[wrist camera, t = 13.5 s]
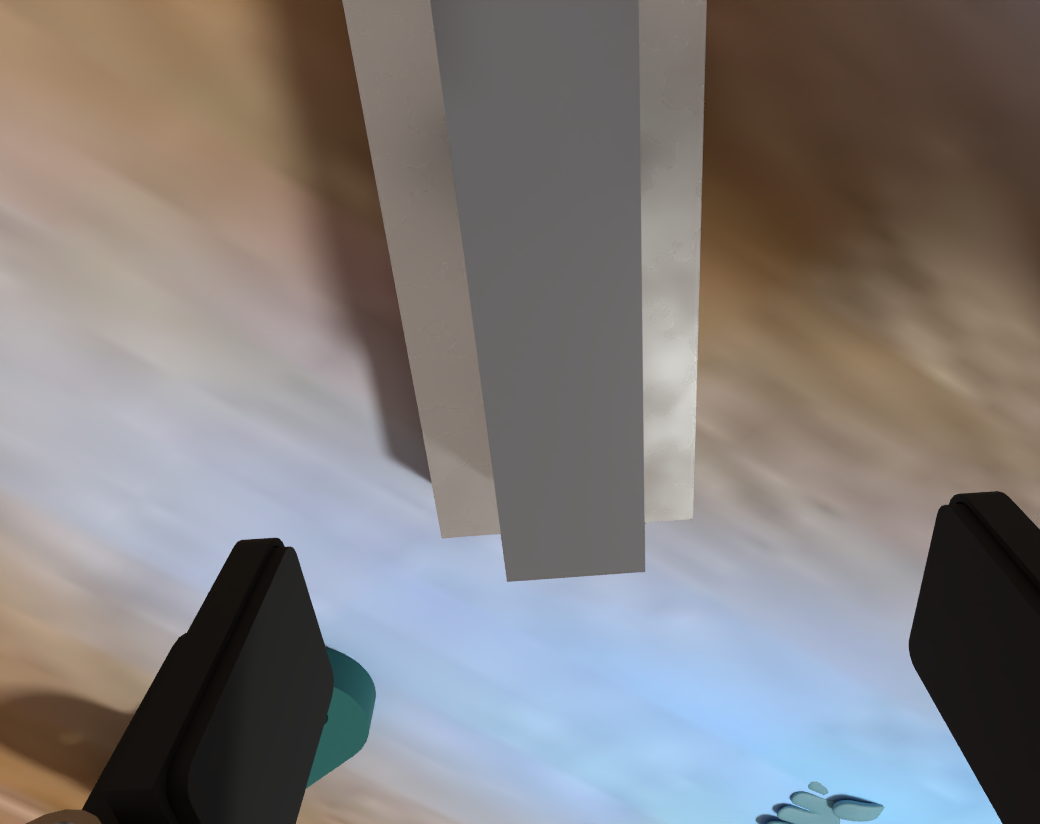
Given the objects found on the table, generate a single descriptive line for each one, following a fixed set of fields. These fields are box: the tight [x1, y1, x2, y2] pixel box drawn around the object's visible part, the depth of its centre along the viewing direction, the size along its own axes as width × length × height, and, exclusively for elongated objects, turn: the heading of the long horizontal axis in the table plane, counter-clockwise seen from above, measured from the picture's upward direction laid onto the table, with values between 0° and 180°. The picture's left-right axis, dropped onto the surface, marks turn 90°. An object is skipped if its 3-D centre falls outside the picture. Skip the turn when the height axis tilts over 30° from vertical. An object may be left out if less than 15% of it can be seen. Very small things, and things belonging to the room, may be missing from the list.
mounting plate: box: [342, 0, 707, 538], centre depth 25 cm, size 10×22×3 cm, turn 5°
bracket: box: [306, 647, 376, 788], centre depth 37 cm, size 18×7×8 cm, turn 134°
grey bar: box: [430, 0, 645, 582], centre depth 23 cm, size 4×18×7 cm, turn 5°
